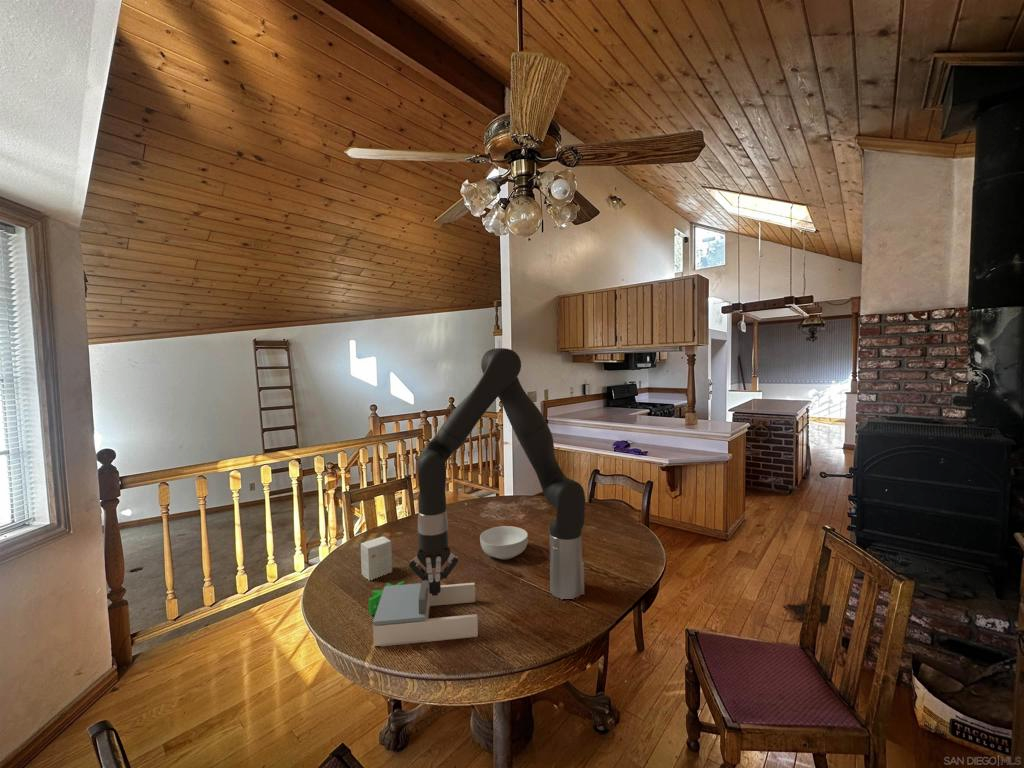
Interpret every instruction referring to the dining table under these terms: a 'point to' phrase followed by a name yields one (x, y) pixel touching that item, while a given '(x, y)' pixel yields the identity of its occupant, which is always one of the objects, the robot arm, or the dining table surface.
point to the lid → (402, 603)
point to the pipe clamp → (377, 599)
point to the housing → (433, 621)
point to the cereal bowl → (504, 541)
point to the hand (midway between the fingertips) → (435, 594)
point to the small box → (376, 558)
